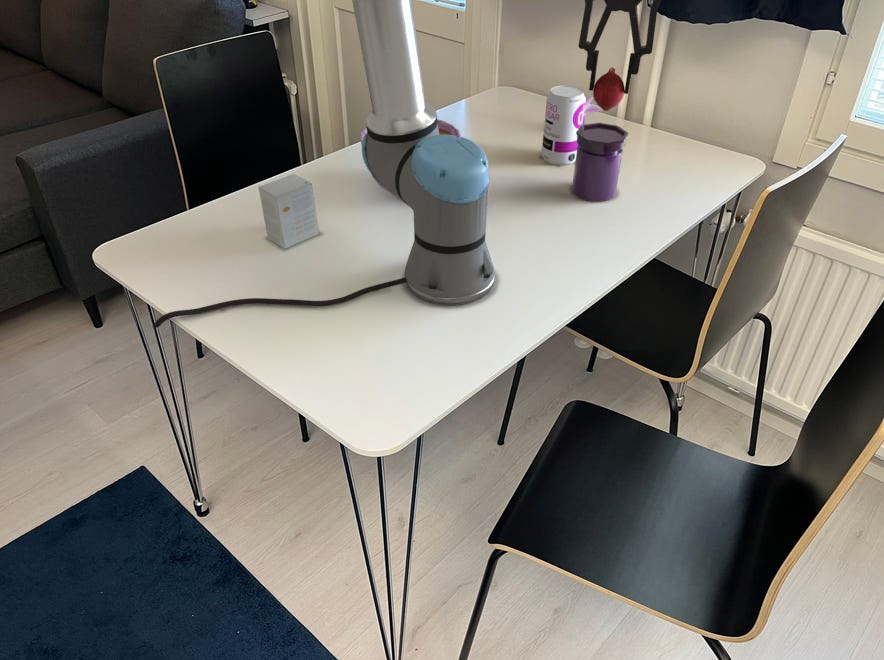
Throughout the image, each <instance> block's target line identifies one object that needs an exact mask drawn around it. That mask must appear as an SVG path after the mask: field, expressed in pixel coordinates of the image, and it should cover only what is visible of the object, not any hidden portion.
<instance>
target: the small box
mask: <svg viewBox="0 0 884 660" xmlns="http://www.w3.org/2000/svg"><path fill="white" fill-rule="evenodd" d="M258 191H259V192H258V193H259V198H260V203H261V209H262V214H263V220H264V225H265V231H266V237H267V238H268V239H269V240H270V241H271V242H274V243H275V244H276V245H278V246H279V247H281V248H283V250H284V249H287V248H289V247H291V246H295V245H296V244H299V243H301V242H303V241H306V240H309V239H310V238H312V237H314V236H316V235H319V233H320V232H319V231H320V230H319V225H318V223H319V222H318V216H317V210H316V209H317V208H316V201H315V200H316V199H315V193H314V192H315V191H314V185H313V182H311V181H309V180H308V179H306V178H304V177H302V176H300V175H299V174H297V173H292V174H289V175H287V176H284V177H281V178H278V179H276V180H273V181H270V182H268V183H265V184H263V185H260V186H258Z"/></svg>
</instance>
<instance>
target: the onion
mask: <svg viewBox="0 0 884 660" xmlns="http://www.w3.org/2000/svg"><path fill="white" fill-rule="evenodd" d="M616 70H617V69H616V68H615V67H609V69H608V71H607V72H606V73H605V74H602V75H601V76H600V77H599V78H598V79H597V81H595V85H594V89H593V91H592V94H593V95H592V98H593V100H594V101H595V103H596V105H597V106H599V107H600V108H602V109H603V111H604V112H608V111H610V110H612V109H613V108H615V107H616V106H617V105H619V104H620V103H621V102H622V100H623V98H624V96H625V94H624V91H625V84H624V81H623V79H622V78H621V76H619V75H618V74H617V72H616Z"/></svg>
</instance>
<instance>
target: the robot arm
mask: <svg viewBox="0 0 884 660" xmlns="http://www.w3.org/2000/svg"><path fill="white" fill-rule="evenodd" d="M595 1H596V0H584V4H585V5H584V11H583V17H582V22H581V27H580V28H581V29H580V34H579V40H578V48H579V49H580V50H584V51H585V52H586V53H587V54H586V55H587V56H586V62H585V70H586V72H587V71H588V72H590V78H589V88H588V91H591V92H593V90H594V86H595V83H596V78H597V77H596V76H597V68H598V63H599V62H598V61H599V56H600V55H599V54H600V50H598V49H597V47H598V43H599V41H600V39H601V37H602V34H603V32H604V30H605V27H606V25H607V23H608V21H609V18H610V16H611V14H612V12H619V11H621V12H624V13H628V16H629V22H630V30H631V38H632V45H633V52H630V54H629V59H628V60H629V61H628V66H627V73H626V79H625V84H624V90H625V91H624V95H629V91H630V85H631V79H632V75H635V76H637V75H638V73H639V70H640V63H641V59H642V57H643V56H645V55H651V54H652V53H653V48H654V40H655V33H656V24H657V17H658V9H659V7H660V5H661V3H662V0H648V5H649V6H650V9H649V17H648V25H647V33H646V41H645V44H644V45H642V39H641V30H640V22H639V14H638V12H639V11H638V6H639V5H640V4H641V2H643V0H603V2H604V4H605V7H604V10H603V12H602V15H601V16H600V19H599V22H598V24H597V26H596V29H595V31H594V34H593V36H592V38H591V40H590V41H589V40H588V35H589V29H590V25H591V19H592V13H593V8H594V2H595ZM413 5H414V4H413V0H352V7H353V12H354V17H355V22H356V28H357V33H358V39H359V44H360V49H361V55H362V61H363V65H364V70H365V77H366V82H367V87H368V92H369V97H370V102H371V108H372V110H371V111H370V112H369V114H368V115H367V117H366V119H365V128H367V133H366V135H364V137H363V141H362V144H361V154H362V155H361V156H362V160H363V162H364V165H365V167H366V168H367V170H368V172H369V173H370V174H371V177H372V176H373V177H374V178H375V179H376V180H377V181H378V182H379V183H380V184H381V185H383V186H385V187H386V188H387V189H389V190H390V191H391V192H392V193H391V192H390V193H391V194H393V195H395V196H396V197H397V198H398V199H399V200H401V201H402V202H403V203H405V205H406V206H408V207H409V208H410V209H411V210H412V213H413V233H414V234H413V235H414V238H413V243H412V245H411V249H410V252H409V254H408V257H407V261H406V264H405V267H404V277H401V278H398V279H397V278H396V279H394V280H390V281H386V282H382V283H378V284H374V285H371V286H368V287H365V288H364V287H363V288H362V289H358V290H357V291H354V292H351V293H350V294H346V295H344V296H341V297H337V298H333V299H325V300H307V299H289V298H287V299H286V298H268V297H267V298H266V297H265V298H264V297H260V298H259V297H251V298H239V299H233V300H226V301H222V302H218V303H213V304H210V305H205V306H202V307H197V308H189V309H181V310H179V309H178V310H174V311H170V312H167V313H165V314H163V315H161V316H160V317H159V318H158V319H157V320H155V322H154V323H153V325H152V328H154V329H156V328H159V327H160V326H161V325H162V324H163V323H165V322H166V321H168V320H170V319H172V318H177V317H185V316H194V315H200V314H203V313H208V312H211V311H212V312H213V311H216V310H220V309H224V308H228V307H235V306H241V305H255V304H256V305H257V304H258V305H260V304H261V305H262V304H263V305H281V306H302V307H328V306H335V305H339V304H340V305H341V304H342V303H347V302H349V301H352V300H354V299H356V298H359V297H361V296H363V295H366V294H369V293H373V292H376V291H379V290H384V289H387V288H391V287H396V286H399V285H403V284H405V287H406V289H407V290H408V292H409V293H411V295H413V296H415V297H416V298H418V299H420V300H422V301H425V302H426V303H430V304H435V305H440V306H441V305H442V306H459V305H464V304H469V303H473V302H476V301H478V300H480V299H482V298H484V297H485V296H486V295H488V294H489V293H490V292H491V291H492V289H493V287H494V285H495V277H496V276H495V267H494V263H493V259H492V257H491V255H490V250H489V247H488V245H487V242H486V234H487V233H486V232H487V231H486V230H487V213H488V193H489V185H490V171H489V160H488V156H487V154H486V153H485V151H484V149H483V148H482V147H481V146H480V145H479V144H477V143H476V142H475V141H473V140H471V139H469V138H467V137H463V136H461V138H457V137H456V136H455V135H445V134H442V135H439V129H438V121H437V119H438V114H437V113H438V112H437V109H435V107H434V106H433V105H431V104H430V103H428V101H426V95H425V88H424V81H423V73H422V66H421V57H420V49H419V44H418V35H417V27H416V20H415V12H414V6H413ZM373 177H372V178H373ZM374 178H373V179H374ZM375 179H374V180H375Z"/></svg>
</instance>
